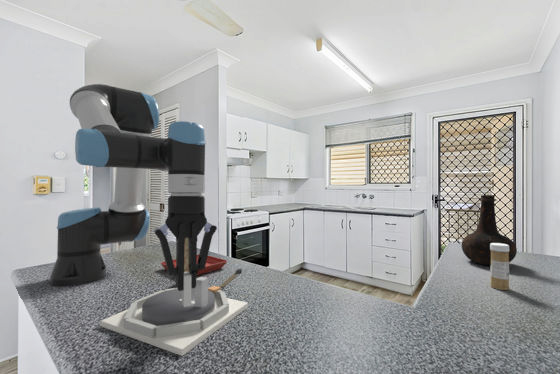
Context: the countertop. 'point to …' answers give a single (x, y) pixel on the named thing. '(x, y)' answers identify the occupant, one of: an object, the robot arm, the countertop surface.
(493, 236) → the dark brown vase
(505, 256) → the sprinkles bottle
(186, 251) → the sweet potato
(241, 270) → the tomahawk
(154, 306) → the dial
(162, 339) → the panel
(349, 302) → the countertop surface
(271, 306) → the countertop surface
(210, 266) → the plant saucer
